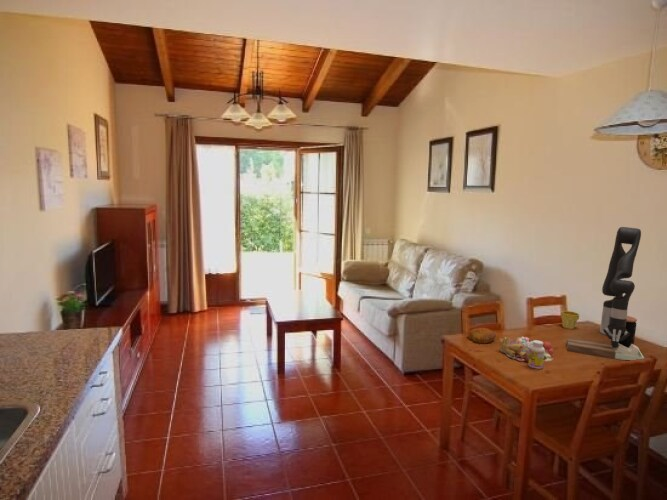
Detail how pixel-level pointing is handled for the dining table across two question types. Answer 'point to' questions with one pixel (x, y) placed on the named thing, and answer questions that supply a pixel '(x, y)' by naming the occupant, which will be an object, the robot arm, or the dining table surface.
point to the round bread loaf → (482, 335)
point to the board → (590, 347)
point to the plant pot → (569, 319)
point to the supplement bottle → (536, 355)
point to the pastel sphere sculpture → (523, 349)
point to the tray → (628, 356)
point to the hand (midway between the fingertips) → (614, 347)
